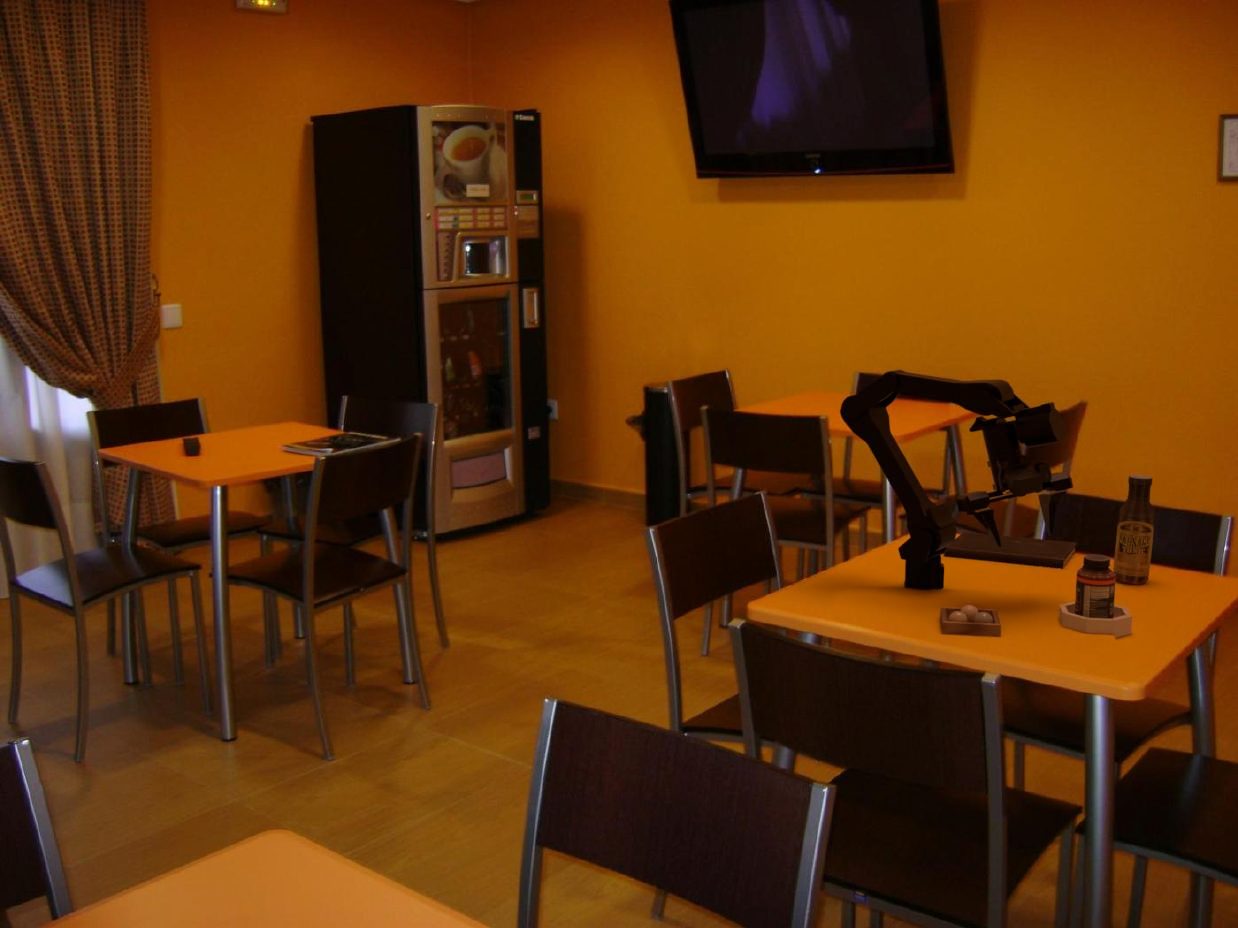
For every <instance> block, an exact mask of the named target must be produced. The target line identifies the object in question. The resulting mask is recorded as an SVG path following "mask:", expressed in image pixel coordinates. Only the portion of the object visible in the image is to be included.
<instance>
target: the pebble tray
mask: <svg viewBox="0 0 1238 928" xmlns="http://www.w3.org/2000/svg"><path fill="white" fill-rule="evenodd" d="M976 608H977V607H976ZM961 609H962V607H957V606H956V607H955V606H954V607H953V606H940V617H939V618H940V626H941V633H942V635H944V634H945V635H961V636H964V635H966V636H983V637H1002V635H1001V633H1002V624H1001V621H1000V616H999V613H998V609H997V608H996V609H995V608H979V607H978V608H977V610H978V612H979V613H980V612H986V613H988V614H990V615H991V616H992V618H993V623H974V622H952V621H948V619H949V616H950V614H951V613H953V612H955V611H960V610H961Z"/></svg>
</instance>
